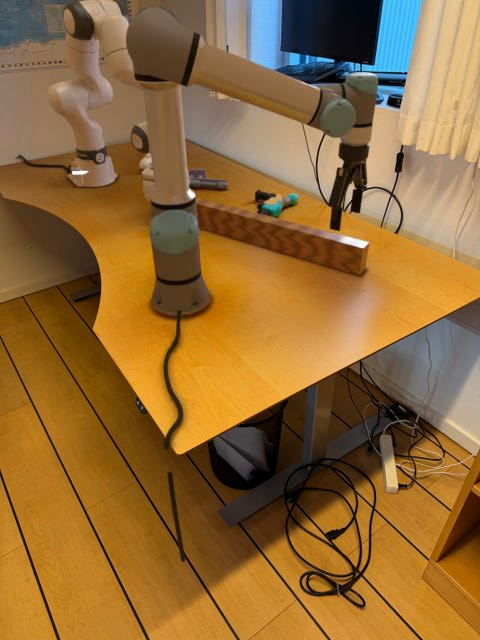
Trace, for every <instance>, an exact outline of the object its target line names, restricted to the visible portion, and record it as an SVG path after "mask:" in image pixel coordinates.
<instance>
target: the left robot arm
mask: <svg viewBox="0 0 480 640" xmlns="http://www.w3.org/2000/svg"><path fill="white" fill-rule="evenodd" d="M62 21H63V25H64V28H65V30H66V34H65V42H66V43H65V61H66V64H67V66H68V68H69V69H70V71H72V72H73V73H75V74H77V75H78V77H77V78H76V79H70V80H62V81H60V82H57V83H55V84H52V85H49V87H48V89H47V96H46V97H47V101H48V104H49V106H50V107H51V109H52V110H53V111H54V112H55V113H57V114H59V115H60V116H62V117H63V118H64V119H65V120H66V121H67V122H68V124H69V126H70V127H71V130H72V133H73V136H74V140H75V144H76V147H75V156H76V157H75V158H74V159H73V161H72V162H71V163H70V164H69V165H68V166H67V165H64V164H47V163H46V164H45V163H44V164H43V163H33V162H30V161H29V160H28V159H26V158H25V157H24V156H23V155H22V154H18V155H19V157H18V155H17V157H16V158H17V159H20V158H21V160H23V161H24V162H25V163H26V164H27V165H29V166H32V167H47V168H64V169H65V171H66V172H67V173H68V175H67V178H68V179H69V180H70V182H72V183H73V184H74V185H75V186H76V187H78V188H84V187H88V188H93V187H94V188H96V187H97V188H98V187H104V186H107V185H108V186H109V185H110V184H113V183H114V182H115V181H116V178H117V177H118V173H117V172H115V169H114V165H113V160H112V158H111V156H109V155H108V154H109V153H108V148H107V145H106V143H105V137H104V132H103V128H102V125H101V124H100V123H99V122H97V121H96V120H95V119H91V118H89V116H88V114H87V111H91V110H95V109H101V108H103V107H105V106H107V105H109V104H111V103H112V102H113V100H114V99H113V98H114V89H113V86H112V85H111V83H110V82H109V80H107V78H106V77H104V76H103V75H102V73H101V71H100V70H101V69H100V45H101V47H102V50H103V51H102V52H103V54H104V58H105V62H106V64H107V67H108V69H109V71H110V73H111V75H112V77H114V79H116V80H117V81H118V82H120V83H122V84H123V85H126V86H130V87H134V88H137V89H139V90H142V91H143V88H142V87H141V86H140V85H139V84H138V83H137V82H136V81H135V77H134V69H133V62H132V60H131V58H130V56H129V54H128V51H127V46H126V33H127V29H128V26H129V24H130V22H131V21H132V19H131V13H130V10H129V8H128V6H127V5H126V3H125V2H123V1H122V0H79V1H78V0H74V1H70V2H67V3H66V4H65V5H64V7H63V10H62ZM130 141H131V144H132V147H133V148H134V150H136V151H137V152H139V153H140V154H148V153H150V154H151V150H150V142H149V134H148V126H147V120H145V121H144V122H140V123H137V124H135V125H134V126H133V127H132V129H131V132H130ZM151 160H152V158H151ZM141 177H142V178H143V181H142V191H143V197H144V200H145V201H146V202H148V203H151V198H150V196H151V194H152V193H153V192H154V191H155V183H154V174H153V166H152V162H151V163H150V164H149V165H148V167H147V168H145V169H144V170H143V169H142V171H141ZM188 183H189V184H190V179H189V172H188Z"/></svg>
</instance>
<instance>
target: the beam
mask: <svg viewBox="0 0 480 640" xmlns="http://www.w3.org/2000/svg"><path fill="white" fill-rule="evenodd" d="M195 198H196V210H197V216H198V220H197V223H198V226H199V229H201V230H204V231H208V232H212V233H214V234H218V235H221V236H224V237H228V238H231V239H233V240H238V241H241V242H245V243H248V244H252V245H255V246H258V247H261V248H264V249H268V250H270V251H271V250H272V251H274V252H278V253H281V254H286V255H288V256H292V257H295V258H298V259H302V260H305V261H308V262H312V263H315V264H319V265H322V266H325V267H329V268H332V269H334V270H339V271H341V272H344V273H349V274H352V275H355V276H358V277H359V276H361V275H362V273H363V272H364V271H365V270H366V267H367V261H368V254H369V249H370V248H369V247H370V241H366V240H362V239H358V238H355V237H351V236H347V235H342V234H340V233H335V232H332V231H328V230H323V229H319V228H317V227H312V226H308V225H305V224H300V223H297V222H292V221H290V220H286V219H281V218H277V217H275V218H274V217H270V216H266V215H263V214H259V213H257V212H256V211H255V212H254V211H250V210H247V209H243V208H239V207H236V206H231V205H228V204H223V203H220V202H216V201H212V200H208V199H205V198H201V197H197V196H195Z"/></svg>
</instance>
